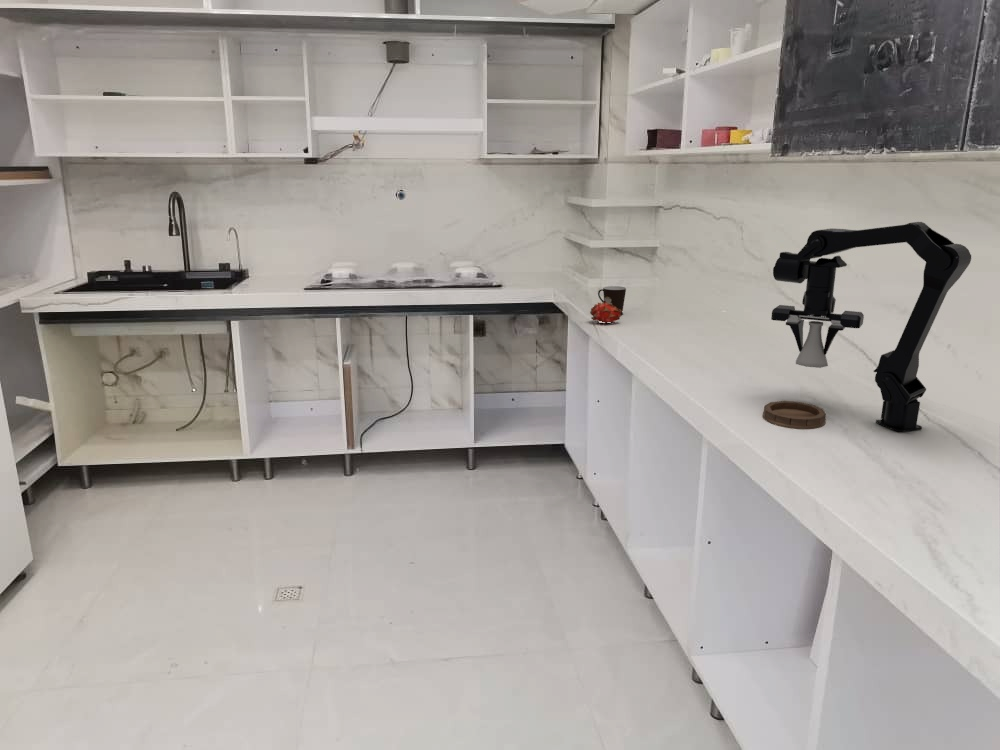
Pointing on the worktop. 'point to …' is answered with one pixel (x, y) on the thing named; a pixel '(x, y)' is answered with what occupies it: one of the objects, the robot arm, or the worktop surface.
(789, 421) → the round wooden tray
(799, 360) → the flask
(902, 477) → the worktop surface
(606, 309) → the dragon fruit
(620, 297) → the coffee mug
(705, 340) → the worktop surface
